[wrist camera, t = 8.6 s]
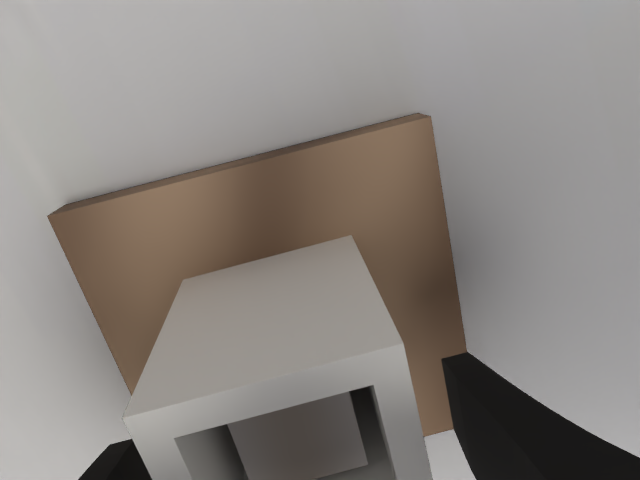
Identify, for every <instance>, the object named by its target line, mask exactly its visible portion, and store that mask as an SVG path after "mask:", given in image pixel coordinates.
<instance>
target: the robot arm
mask: <svg viewBox="0 0 640 480" xmlns="http://www.w3.org/2000/svg"><path fill="white" fill-rule="evenodd" d="M441 361H442V367H443V372H444V378H445V383H446V389H447V395H448V400H449V406H450V412H451V417H452V423H453V428H454V431H455V433H456V435H457V438H458V440H459V443H460V445H461V447H462V450H463V452H464V454H465V457H466V459H467V461H468V464H469V466H470V468H471V470H472V472H473V474H474V476H475V478H476V480H640V458H639V457H637V456H635V455H633V454H631V453H629V452H627V451H625V450H623V449H621V448H619V447H617V446H614V445H612V444H610V443H608V442H606V441H604V440H602V439H601V438H599V437H597V436H595V435H593V434H591V433H590V432H588V431H586V430H584V429H583V428H581V427H579V426H577V425H576V424H574V423H572V422H571V421H569V420H567V419H565V418H564V417H562V416H560V415H559V414H557V413H556V412H554V411H552V410H551V409H549V408H547V407H546V406H544V405H543V404H541V403H540V402H538V401H537V400H535V399H534V398H532V397H531V396H529V395H528V394H526V393H524V392H523V391H521V390H520V389H519V388H517V387H516V386H514V385H513V384H511V383H510V382H508V381H507V380H506V379H504V378H503V377H501V376H500V375H499V374H497V373H496V372H494V371H493V370H492V369H490V368H489V367H488V366H486V365H485V364H483V363H482V362H481V361H479V360H478V359H477V358H475V357H474V356H473V355H471V354H469V353H468V352H465V353H461V354H458V355H454V356H450V357H446V358H442V359H441ZM78 480H152V478H151V476H150V474H149V472H148V470H147V468H146V466H145V464H144V462H143V460H142V458H141V456H140V454H139V452H138V450H137V448H136V446H135V444H134V442H133V440H132V439H130V440H126V441H122V442H118V443H114V444H111V445H109V446H108V447H107V448H106V449H105V450H104V451H103V452H102V453H101V454H100V456H99V457H98V458H97V459H96V460H95V461H94V462H93V463H92V464H91V466H90V467H89V468H88V469H87V470H86V471H85V472H84V474H83V475H82V476H81V477H80V478H79V479H78Z"/></svg>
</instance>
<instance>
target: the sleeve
mask: <svg viewBox="0 0 640 480" xmlns="http://www.w3.org/2000/svg"><path fill="white" fill-rule="evenodd" d="M348 391H351V395H352V399H353V403H354V407H355V411H356V416H357V420H358V424H359V428H360V432H361V436H362V440H363V445H364V449H365V453H366V457H367V461H368V465H366V466H362V467H358V468H354V469H350V470H347V471H343V472H339V473H335V474H331V475H328V476H324V477H320V478H316V479H313V480H433V478H432V474H431V469H430V464H429V460H428V455H427V450H426V446H425V441H424V436H423V432H422V427H421V422H420V418H419V413H418V408H417V404H416V399H415V394H414V390H413V385H412V381H411V376H410V371H409V367H408V362H407V357H406V353H405V348H404V343H403V341H402V339H401V337H400V335H399V333H398V331H397V329H396V327H395V325H394V322H393V320H392V318H391V316H390V314H389V312H388V310H387V308H386V306H385V304H384V302H383V300H382V297H381V295H380V293H379V291H378V289H377V287H376V285H375V283H374V281H373V279H372V277H371V275H370V273H369V270H368V268H367V266H366V264H365V262H364V260H363V258H362V256H361V254H360V252H359V250H358V248H357V245H356V243H355V241H354V239H353V237H352V235H349V236H346V237H342V238H338V239H334V240H331V241H327V242H323V243H319V244H315V245H312V246H308V247H304V248H300V249H297V250H293V251H289V252H285V253H282V254H278V255H274V256H270V257H267V258H263V259H259V260H255V261H252V262H248V263H244V264H240V265H237V266H233V267H229V268H225V269H222V270H218V271H214V272H210V273H207V274H203V275H199V276H195V277H192V278H188V279H184V280H183V281H182V283H181V285H180V288H179V290H178V292H177V295H176V297H175V299H174V301H173V304H172V306H171V308H170V310H169V313H168V315H167V317H166V320H165V322H164V324H163V326H162V329H161V331H160V333H159V335H158V338H157V340H156V342H155V345H154V347H153V349H152V351H151V354H150V356H149V358H148V360H147V363H146V365H145V367H144V370H143V372H142V374H141V376H140V379H139V381H138V383H137V385H136V388H135V390H134V392H133V394H132V397H131V399H130V401H129V404H128V406H127V408H126V410H125V413H124V415H123V417H122V420H123V422H124V424H125V426H126V428H127V430H128V432H129V434H130V436H131V438H132V440H133V442H134V444H135V446H136V448H137V450H138V452H139V454H140V456H141V458H142V460H143V462H144V464H145V466H146V468H147V470H148V472H149V474H150V476H151V478H152V480H249V479H248V476H247V474H246V471H245V469H244V466H243V463H242V461H241V458H240V456H239V453H238V451H237V448H236V446H235V443H234V441H233V438H232V435H231V433H230V430H229V428H228V425H227V424H229V423H232V422H236V421H240V420H244V419H247V418H251V417H255V416H258V415H262V414H266V413H270V412H273V411H277V410H281V409H285V408H288V407H292V406H296V405H300V404H303V403H307V402H311V401H315V400H318V399H322V398H326V397H330V396H333V395H337V394H341V393H344V392H348Z"/></svg>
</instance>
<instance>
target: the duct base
mask: <svg viewBox="0 0 640 480" xmlns="http://www.w3.org/2000/svg"><path fill="white" fill-rule="evenodd" d="M47 217H48V219H49V221H50V223H51V225H52V228H53V230H54V232H55V234H56V236H57V238H58V240H59V242H60V245H61V247H62V249H63V251H64V253H65V255H66V257H67V259H68V262H69V264H70V266H71V268H72V270H73V272H74V274H75V276H76V279H77V281H78V283H79V285H80V287H81V289H82V291H83V293H84V296H85V298H86V300H87V302H88V304H89V306H90V308H91V310H92V313H93V315H94V317H95V319H96V321H97V323H98V325H99V327H100V330H101V332H102V334H103V336H104V338H105V340H106V342H107V344H108V347H109V349H110V351H111V353H112V355H113V357H114V359H115V361H116V364H117V366H118V368H119V370H120V372H121V374H122V376H123V378H124V381H125V383H126V385H127V387H128V389H129V391H130V393H131V395H132V394H133V392H134V390H135V388H136V385H137V383H138V381H139V379H140V376H141V374H142V372H143V370H144V367H145V365H146V363H147V360H148V358H149V356H150V354H151V351H152V349H153V347H154V345H155V342H156V340H157V338H158V335H159V333H160V331H161V329H162V326H163V324H164V322H165V320H166V317H167V315H168V313H169V310H170V308H171V306H172V304H173V301H174V299H175V297H176V295H177V292H178V290H179V288H180V285H181V283H182V281H183V280H184V279H188V278H192V277H195V276H199V275H203V274H207V273H210V272H214V271H218V270H222V269H225V268H229V267H233V266H237V265H240V264H244V263H248V262H252V261H255V260H259V259H263V258H267V257H270V256H274V255H278V254H282V253H285V252H289V251H293V250H297V249H300V248H304V247H308V246H312V245H315V244H319V243H323V242H327V241H331V240H334V239H338V238H342V237H346V236H349V235H352V237H353V239H354V241H355V243H356V245H357V248H358V250H359V252H360V254H361V256H362V258H363V260H364V262H365V264H366V266H367V268H368V270H369V273H370V275H371V277H372V279H373V281H374V283H375V285H376V287H377V289H378V291H379V293H380V295H381V297H382V300H383V302H384V304H385V306H386V308H387V310H388V312H389V314H390V316H391V318H392V320H393V322H394V325H395V327H396V329H397V331H398V333H399V335H400V337H401V339H402V341H403V343H404V348H405V353H406V357H407V362H408V367H409V371H410V376H411V381H412V385H413V390H414V394H415V399H416V404H417V408H418V413H419V418H420V422H421V427H422V432H423V436H424V437H425V436H429V435H432V434H436V433H440V432H444V431H448V430H451V429H454V428H453V423H452V417H451V412H450V406H449V400H448V395H447V389H446V383H445V378H444V372H443V367H442V361H441V359H442V358H446V357H450V356H454V355H458V354H461V353H465V352H467V349H466V342H465V336H464V329H463V323H462V316H461V310H460V303H459V297H458V290H457V284H456V277H455V270H454V264H453V257H452V251H451V244H450V238H449V231H448V225H447V218H446V212H445V205H444V199H443V192H442V186H441V179H440V173H439V166H438V160H437V153H436V147H435V140H434V134H433V127H432V121H431V116H427V115H424V114H420V113H417V114H413V115H409V116H405V117H401V118H397V119H394V120H390V121H386V122H382V123H378V124H374V125H371V126H367V127H363V128H359V129H355V130H351V131H347V132H344V133H340V134H336V135H332V136H328V137H324V138H320V139H317V140H313V141H309V142H305V143H301V144H297V145H294V146H290V147H286V148H282V149H278V150H274V151H270V152H267V153H263V154H259V155H255V156H251V157H247V158H243V159H240V160H236V161H232V162H228V163H224V164H220V165H217V166H213V167H209V168H205V169H201V170H197V171H193V172H190V173H186V174H182V175H178V176H174V177H170V178H166V179H163V180H159V181H155V182H151V183H147V184H143V185H140V186H136V187H132V188H128V189H124V190H120V191H116V192H113V193H109V194H105V195H101V196H97V197H93V198H89V199H86V200H82V201H78V202H74V203H70V204H66V205H64V206H63V207H61V208H59V209H58V210H56V211H55V212H53V213H51V214H50V215H48V216H47ZM227 425H228V428H229V430H230V433H231V435H232V438H233V441H234V443H235V446H236V448H237V451H238V453H239V456H240V458H241V461H242V463H243V466H244V469H245V471H246V474H247V476H248V479H249V480H313V479H316V478H320V477H324V476H328V475H331V474H335V473H339V472H343V471H347V470H350V469H354V468H358V467H362V466H366V465H368V461H367V457H366V453H365V449H364V445H363V440H362V436H361V432H360V428H359V424H358V420H357V416H356V411H355V407H354V403H353V399H352V395H351V391H348V392H344V393H341V394H337V395H333V396H330V397H326V398H322V399H318V400H315V401H311V402H307V403H303V404H300V405H296V406H292V407H288V408H285V409H281V410H277V411H273V412H270V413H266V414H262V415H258V416H255V417H251V418H247V419H244V420H240V421H236V422H232V423H229V424H227Z"/></svg>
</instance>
